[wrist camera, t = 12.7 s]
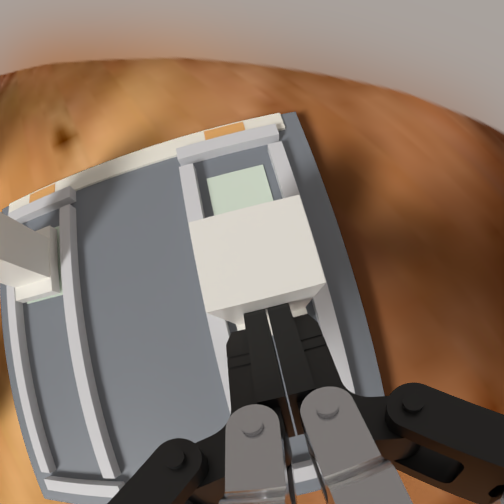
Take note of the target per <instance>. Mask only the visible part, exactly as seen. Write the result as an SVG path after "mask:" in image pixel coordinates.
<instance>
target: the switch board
mask: <svg viewBox="0 0 504 504" xmlns="http://www.w3.org/2000/svg"><path fill="white" fill-rule="evenodd" d="M295 195H300V199H301V202H302V205H303V208H304V211H305V214H306V217H307V220H308V224H309V227H310V230H311V233H312V237H313V240H314V243H315V246H316V250H317V253H318V257H319V260H320V263H321V267H322V270H323V274H324V277H325V281H326V283H325V284H324V285H323V287H322V288H321V289H320V290H319V291H318V293H317V294H316V295H315V296H314V297H313V299H312V300H311V301H310V302H309V303H308V304H307V306H306V310H307V314H309V315H310V316H311V317H312V318H313V319H315V320H316V321H317V322H318V324H319V326H320V329H321V331H322V334H323V336H324V338H325V341H326V343H327V346H328V348H329V351H330V353H331V356H332V358H333V361H334V363H335V366H336V368H337V371H338V373H339V376H340V379H341V381H342V383H343V385H344V386H345V387H346V388H347V389H348V390H349V391H351V392H352V393H354V394H356V395H359V396H364V397H379V396H385V395H384V391H383V386H382V381H381V377H380V372H379V368H378V364H377V360H376V355H375V351H374V347H373V343H372V339H371V335H370V331H369V327H368V324H367V320H366V316H365V312H364V309H363V305H362V302H361V298H360V294H359V291H358V288H357V284H356V281H355V277H354V274H353V271H352V267H351V264H350V261H349V258H348V254H347V251H346V248H345V245H344V242H343V239H342V236H341V233H340V230H339V227H338V224H337V221H336V218H335V215H334V212H333V209H332V206H331V203H330V200H329V197H328V195H327V192H326V189H325V186H324V184H323V181H322V178H321V175H320V173H319V170H318V167H317V165H316V162H315V160H314V157H313V154H312V152H311V149H310V147H309V144H308V142H307V139H306V137H305V134H304V132H303V129H302V127H301V124H300V122H299V119H298V117H297V115H296V112H291V113H286V114H281V115H280V113H276V114H271V115H266V116H262V117H257V118H253V119H248V120H244V121H240V122H235V123H231V124H227V125H223V126H219V127H215V128H212V129H208V130H204V131H200V132H197V133H193V134H190V135H186V136H183V137H179V138H176V139H173V140H169V141H166V142H163V143H160V144H157V145H153V146H150V147H147V148H144V149H141V150H138V151H135V152H132V153H130V154H127V155H124V156H121V157H118V158H115V159H113V160H110V161H107V162H105V163H102V164H99V165H97V166H94V167H92V168H89V169H86V170H84V171H81V172H79V173H77V174H74V175H72V176H69V177H67V178H64V179H62V180H60V181H57V182H55V183H53V184H51V185H48V186H46V187H44V188H42V189H39V190H37V191H35V192H33V193H31V194H29V195H27V196H25V197H22V198H20V199H18V200H16V201H14V202H12V203H10V204H9V206H8V207H6V208H4V209H3V210H2V213H3V214H5V215H7V216H9V217H10V218H12V219H14V220H16V221H17V222H19V223H21V224H23V225H25V226H27V227H28V228H30V229H32V230H34V231H37V230H39V229H42V228H44V227H47V226H51V227H53V228H55V229H57V253H58V273H59V287H60V293H59V294H55V295H52V296H48V297H44V298H40V299H37V300H33V301H29V302H25V303H22V302H18V301H16V296H15V287H12V286H8V285H5V284H1V283H0V299H1V315H2V327H3V337H4V346H5V354H6V361H7V367H8V373H9V379H10V384H11V389H12V394H13V399H14V404H15V408H16V412H17V416H18V420H19V424H20V428H21V432H22V435H23V439H24V442H25V446H26V449H27V452H28V455H29V458H30V461H31V464H32V467H33V470H34V473H35V475H36V478H37V481H38V483H39V486H40V489H41V491H42V494H43V496H44V498H45V499H50V500H55V501H61V502H67V503H73V504H107V503H108V502H109V501H110V500H111V499H112V498H113V497H114V496H115V495H116V494H117V493H118V491H119V490H120V489H121V488H122V487H123V486H124V485H125V484H126V483H127V482H128V480H129V479H130V478H131V477H132V476H133V475H134V474H135V473H136V472H137V470H138V469H139V468H140V467H141V466H142V465H143V464H144V463H145V461H146V460H147V459H148V458H149V457H150V456H151V455H152V453H153V452H154V451H155V450H156V449H157V448H158V447H159V446H160V445H161V444H162V443H164V442H166V441H168V440H170V439H175V438H184V439H188V440H190V441H192V442H194V443H196V442H198V441H201V440H203V439H205V438H207V437H210V436H212V435H214V434H216V433H217V432H218V431H220V430H221V429H222V428H223V427H224V426H225V425H226V423H227V421H228V419H229V417H230V414H231V402H230V390H229V378H228V365H227V352H226V344H227V341H228V339H229V337H230V334H231V332H235V331H237V326H236V324H234V323H232V322H229V321H226V320H224V319H221V318H219V317H216V316H214V315H211V314H209V313H206V310H205V305H204V300H203V296H202V291H201V286H200V281H199V276H198V271H197V266H196V261H195V256H194V251H193V246H192V240H191V235H190V229H189V224H188V223H189V222H192V221H196V220H200V219H204V218H207V217H211V216H215V215H219V214H223V213H226V212H230V211H234V210H238V209H242V208H246V207H250V206H254V205H258V204H262V203H266V202H270V201H274V200H279V199H283V198H287V197H291V196H295ZM272 338H273V342H274V346H275V350H276V355H277V359H278V363H279V367H280V372H281V376H282V380H283V384H284V389H285V393H286V397H287V402H288V406H289V410H290V414H291V419H292V423H293V427H294V431H295V436H294V437H290V438H289V440H290V445H291V450H292V462H293V471H294V479H295V487H296V495H301V494H305V493H309V492H314V491H318V490H321V487H320V485H319V482H318V479H317V476H316V473H315V470H314V468H313V465H312V462H311V459H310V456H309V452H308V447H307V443H306V439H305V435H304V434H302V435H297V431H296V427H295V423H294V419H293V415H292V411H291V407H290V403H289V399H288V395H287V391H286V387H285V382H284V378H283V374H282V370H281V366H280V361H279V357H278V353H277V349H276V345H275V340H274V336H273V335H272Z"/></svg>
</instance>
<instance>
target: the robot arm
mask: <svg viewBox="0 0 504 504" xmlns="http://www.w3.org/2000/svg"><path fill="white" fill-rule="evenodd" d="M267 311H268V315H269V319H270V324H271V328H272V332H273V336H274V340H275V345H276V349H277V353H278V357H279V361H280V366H281V370H282V374H283V378H284V382H285V387H286V391H287V395H288V399H289V403H290V407H291V411H292V415H293V419H294V423H295V427H296V431H297V435H302V434H304V435H305V439H306V443H307V447H308V452H309V456H310V459H311V462H312V465H313V468H314V470H315V473H316V476H317V479H318V482H319V485H320V487H321V490H322V493H323V496H324V499H325V501H326V504H413V503H412V501H411V499H410V497H409V495H408V493H407V491H406V489H405V487H404V485H403V483H402V480H401V478H400V476H399V474H398V472H397V471H396V469H397V470H399V471H401V472H404V473H406V474H408V475H410V476H412V477H414V478H416V479H419V480H421V481H423V482H425V483H428V484H430V485H432V486H435V487H437V488H439V489H442V490H444V491H447V492H449V493H451V494H454V495H456V496H459V497H462V498H464V499H467V500H469V501H472V502H475V503H478V504H504V415H503V414H500V413H497V412H494V411H491V410H489V409H486V408H483V407H481V406H478V405H475V404H473V403H470V402H467V401H465V400H462V399H459V398H457V397H454V396H452V395H449V394H447V393H444V392H442V391H439V390H436V389H434V388H431V387H429V386H427V385H424V384H421V383H407V384H403V385H401V386H399V387H398V388H396V389H395V390H394V391H393V392H392V393H391V394H390V396H379V397H364V396H359V395H356V394H354V393H352V392H351V391H349V390H348V389H347V388H346V387H345V386H344V385H343V383H342V381H341V379H340V376H339V373H338V371H337V368H336V366H335V363H334V361H333V358H332V356H331V353H330V351H329V348H328V346H327V343H326V341H325V338H324V336H323V334H322V331H321V329H320V326H319V324H318V322H317V321H316V320H315V319H313V318H312V317H311V316H310V315H309V314H304V315H300V316H296V317H293V316H292V312H291V309H290V306H289V304H288V303H285V304H281V305H277V306H273V307H269V308H267ZM244 322H245V329H244V330H239V331H235V332H231V334H230V337H229V339H228V341H227V344H226V352H227V365H228V378H229V390H230V402H231V414H230V417H229V419H228V421H227V423H226V425H225V426H224V427H223V428H222V429H221V430H220V431H218V432H217V433H216V434H214V435H212V436H210V437H207V438H205V439H203V440H201V441H198V442H196V443H194V442H192V441H190V440H188V439H184V438H175V439H170V440H168V441H166V442H164V443H162V444H161V445H160V446H159V447H158V448H157V449H156V450H155V451H154V452H153V453H152V455H151V456H150V457H149V458H148V459H147V460H146V461H145V463H144V464H143V465H142V466H141V467H140V468H139V469H138V470H137V472H136V473H135V474H134V475H133V476H132V477H131V478H130V479H129V480H128V482H127V483H126V484H125V485H124V486H123V487H122V488H121V489H120V490H119V491H118V493H117V494H116V495H115V496H114V497H113V498H112V499H111V500H110V501H109V502H108V503H107V504H297V496H296V487H295V479H294V471H293V462H292V450H291V445H290V440H289V438H290V437H294V436H295V431H294V427H293V423H292V419H291V414H290V410H289V406H288V402H287V397H286V393H285V389H284V384H283V380H282V376H281V372H280V367H279V363H278V359H277V355H276V350H275V346H274V342H273V338H272V334H271V330H270V326H269V323H268V319H267V315H266V311H265V309H261V310H257V311H253V312H249V313H245V314H244Z"/></svg>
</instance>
